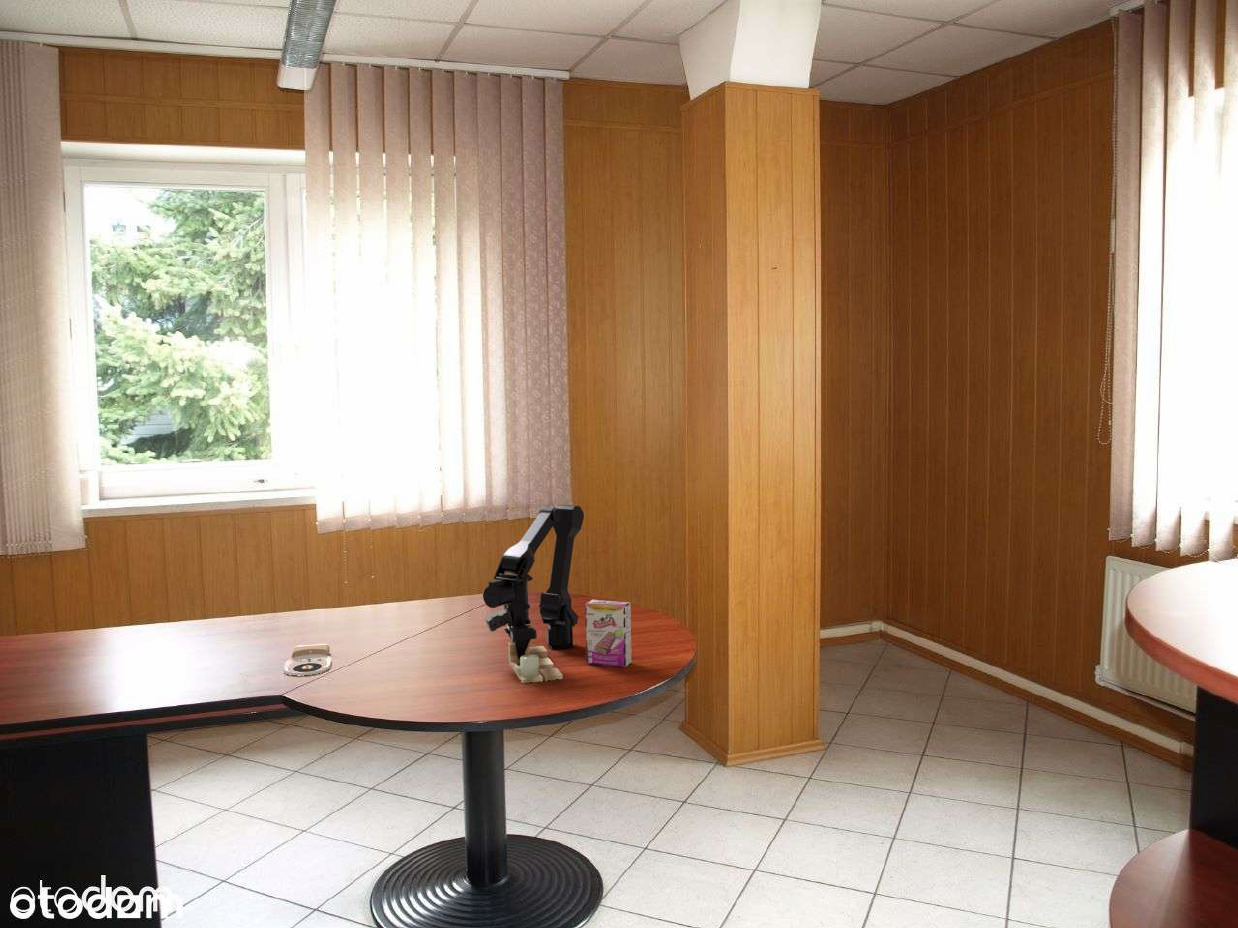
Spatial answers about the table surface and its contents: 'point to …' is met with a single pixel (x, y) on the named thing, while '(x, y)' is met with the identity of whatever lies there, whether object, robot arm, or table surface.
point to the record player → (309, 659)
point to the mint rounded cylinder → (529, 666)
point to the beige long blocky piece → (514, 661)
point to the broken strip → (545, 664)
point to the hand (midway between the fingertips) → (519, 657)
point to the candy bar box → (608, 633)
